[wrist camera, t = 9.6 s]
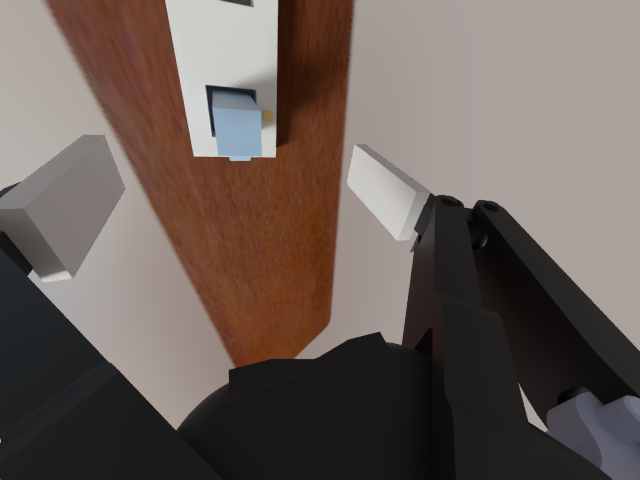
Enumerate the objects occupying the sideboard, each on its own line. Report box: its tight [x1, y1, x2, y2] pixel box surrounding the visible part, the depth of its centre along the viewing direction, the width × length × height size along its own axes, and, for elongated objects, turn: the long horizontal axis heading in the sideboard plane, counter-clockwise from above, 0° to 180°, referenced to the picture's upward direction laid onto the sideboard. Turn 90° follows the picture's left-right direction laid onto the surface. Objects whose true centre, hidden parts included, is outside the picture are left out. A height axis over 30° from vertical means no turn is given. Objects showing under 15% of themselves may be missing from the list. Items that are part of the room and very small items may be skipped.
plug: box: [212, 89, 262, 161], centre depth 24 cm, size 4×4×10 cm
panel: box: [165, 0, 278, 157], centre depth 23 cm, size 20×9×3 cm, turn 174°
